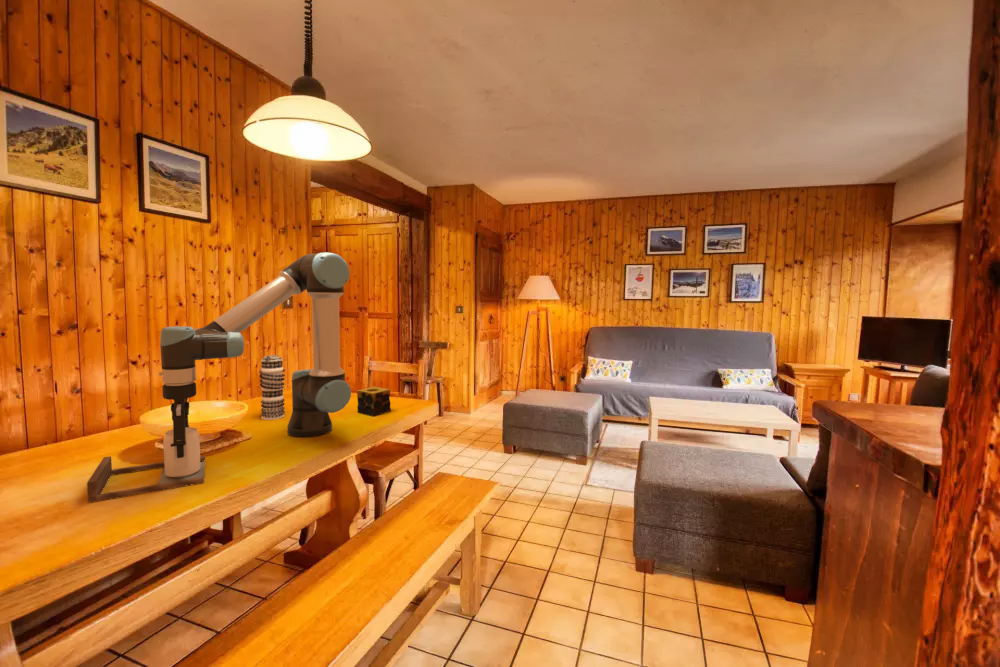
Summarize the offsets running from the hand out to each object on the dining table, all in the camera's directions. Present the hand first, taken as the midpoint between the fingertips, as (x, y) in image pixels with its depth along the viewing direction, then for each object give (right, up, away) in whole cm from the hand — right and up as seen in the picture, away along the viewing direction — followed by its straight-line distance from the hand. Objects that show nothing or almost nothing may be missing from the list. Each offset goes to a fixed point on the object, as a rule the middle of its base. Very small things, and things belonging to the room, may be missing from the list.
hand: (182, 461), depth 122 cm
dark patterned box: (+34, +1, +67) cm, 75 cm away
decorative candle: (-4, +2, +56) cm, 56 cm away
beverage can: (0, -3, 0) cm, 4 cm away
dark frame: (-6, -4, -3) cm, 7 cm away
